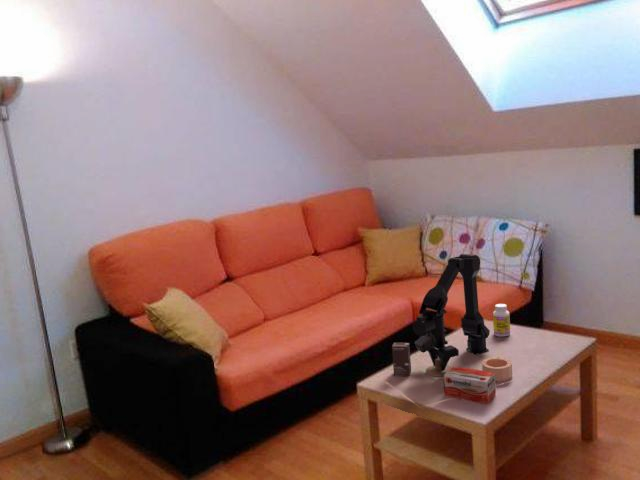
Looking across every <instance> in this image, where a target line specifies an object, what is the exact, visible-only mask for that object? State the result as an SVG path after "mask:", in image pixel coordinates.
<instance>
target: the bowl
mask: <svg viewBox="0 0 640 480" xmlns="http://www.w3.org/2000/svg"><path fill="white" fill-rule="evenodd" d="M481 371H488V372H494V375H495V382H505V381H508V380H510V379H511V378H512V377H513V363H512V360H509V359H507V358H505V357H488V358H485V359H484V360H482V361H481Z"/></svg>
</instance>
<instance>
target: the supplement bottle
mask: <svg viewBox="0 0 640 480" xmlns="http://www.w3.org/2000/svg"><path fill="white" fill-rule="evenodd" d="M494 308H495V310H494V311H493V312H492V321H493V322H492V323H493V334H494V335H495V337H496V336H497V337H504V338H505V337H508V336H510V334H511V321H510V320H511V319H510V317H511V316H510V311H509V310H508V306H507V304H505V303H497V304H495V306H494Z"/></svg>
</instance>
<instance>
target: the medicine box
mask: <svg viewBox="0 0 640 480" xmlns="http://www.w3.org/2000/svg"><path fill="white" fill-rule="evenodd" d="M496 384H497V383H496V381H495V375H494V372H488V371H482V369H480V370H479V369H474V368H467V367H466V368H465V367H460V366H451V369H450V370H449V371H448V372H447V373H446V374H445V375H444V378H443V391H444V396H446V397H451V399H456V400H462V401H467V402H474V403H478V404H483V405H488V404H489V403H490V401H492V399H493V398H494V397H495V395H496V393H497V391H496V388H497V387H496Z"/></svg>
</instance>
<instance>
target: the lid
mask: <svg viewBox="0 0 640 480" xmlns="http://www.w3.org/2000/svg"><path fill="white" fill-rule="evenodd" d="M451 368H452V366H449V365H447V366H446V368H445V370H444V371H442V370H441V366H440V360H439V357H438V358H436V359H435V366H434V365H433V364H432V365H430V366H427V368H425V369H426V373H427V374H428V375H429V376H428V375H427V374H426V375H427V376H428V377H430V376H433V377H444V375H445V374H446V373H447V372H448V371H449V370H450V369H451Z"/></svg>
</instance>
